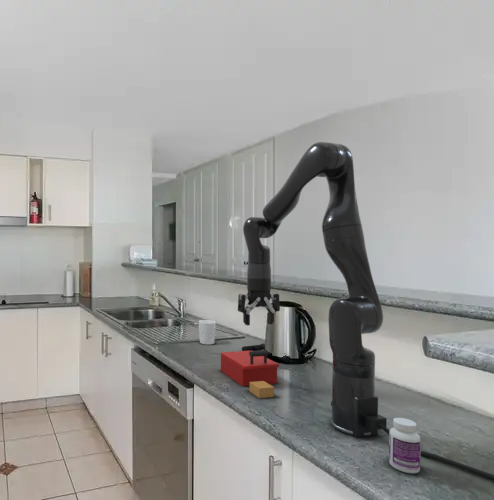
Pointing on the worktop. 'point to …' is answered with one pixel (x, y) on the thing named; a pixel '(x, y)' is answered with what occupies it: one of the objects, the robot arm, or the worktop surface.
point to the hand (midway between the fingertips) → (258, 324)
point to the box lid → (250, 359)
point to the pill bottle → (404, 446)
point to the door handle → (262, 347)
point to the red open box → (248, 373)
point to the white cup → (207, 331)
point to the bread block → (261, 389)
